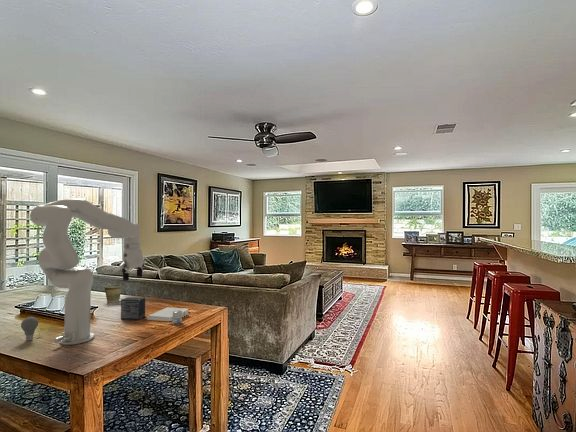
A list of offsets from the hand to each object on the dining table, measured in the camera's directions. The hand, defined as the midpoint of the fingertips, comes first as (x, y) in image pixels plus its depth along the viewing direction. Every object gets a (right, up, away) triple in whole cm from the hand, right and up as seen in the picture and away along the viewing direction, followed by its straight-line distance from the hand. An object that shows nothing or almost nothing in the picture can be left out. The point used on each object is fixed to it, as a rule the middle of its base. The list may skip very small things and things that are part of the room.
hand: (132, 278), depth 174 cm
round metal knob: (+27, -21, -9) cm, 35 cm away
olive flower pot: (-29, -22, +36) cm, 52 cm away
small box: (0, -21, 0) cm, 21 cm away
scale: (+19, -21, +4) cm, 29 cm away
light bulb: (-30, -21, -32) cm, 49 cm away
